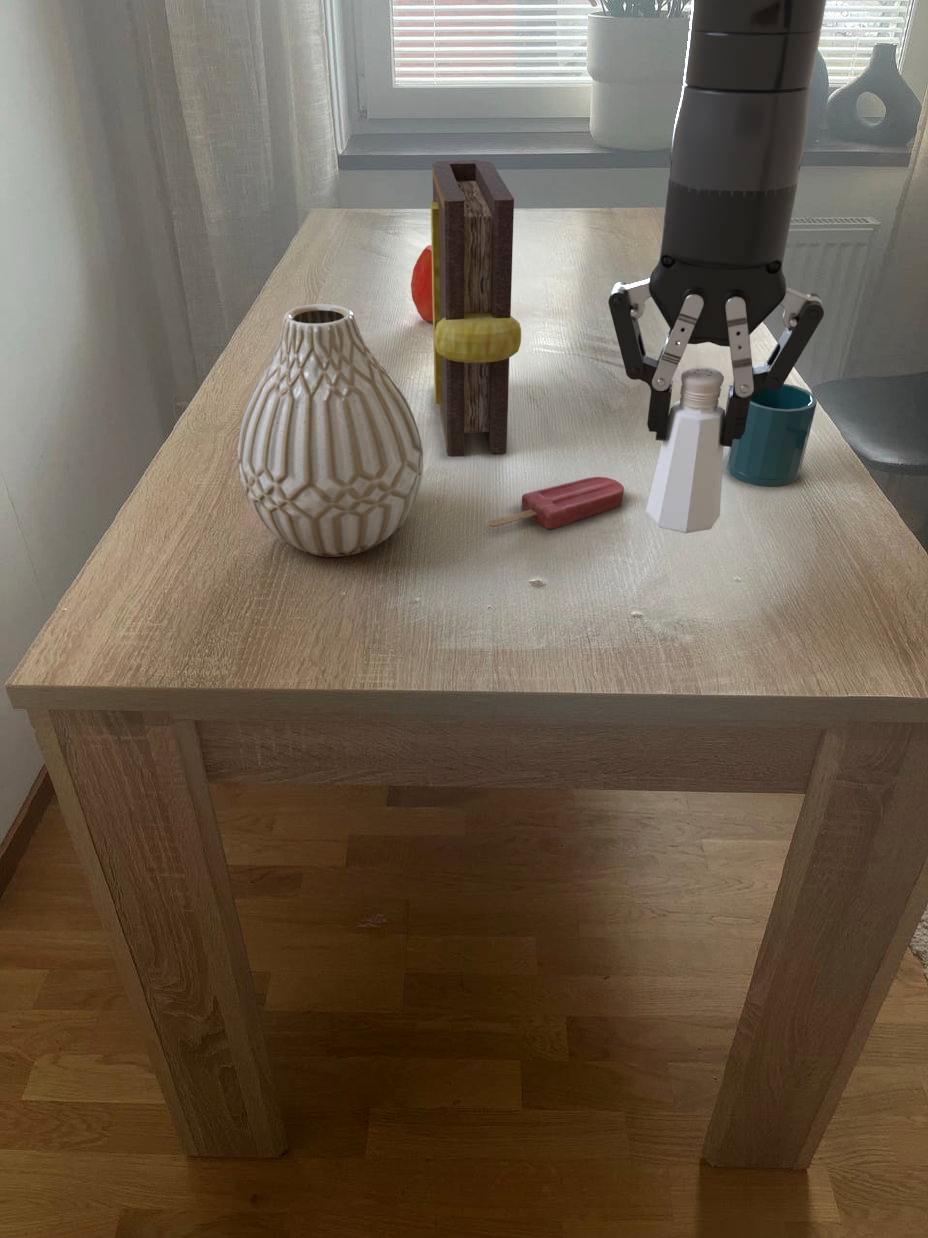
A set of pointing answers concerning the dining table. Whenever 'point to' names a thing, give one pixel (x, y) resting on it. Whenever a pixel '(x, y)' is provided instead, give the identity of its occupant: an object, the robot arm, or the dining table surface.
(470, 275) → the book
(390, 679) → the dining table surface
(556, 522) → the popsicle
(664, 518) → the pepper shaker
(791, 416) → the cup
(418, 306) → the apple
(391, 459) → the vase
